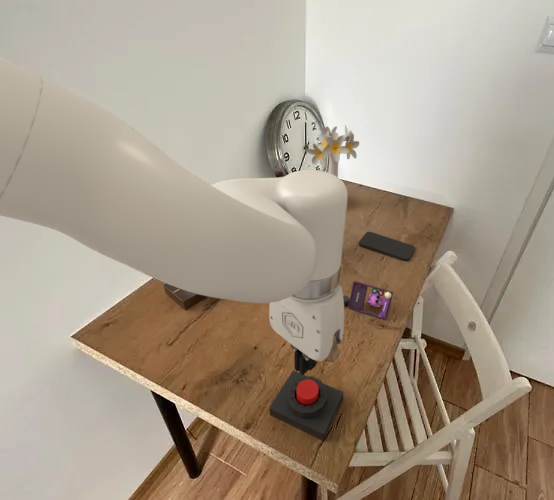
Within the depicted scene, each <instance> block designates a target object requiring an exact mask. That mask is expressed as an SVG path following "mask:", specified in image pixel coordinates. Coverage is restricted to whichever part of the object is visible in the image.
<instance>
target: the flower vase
mask: <svg viewBox="0 0 554 500" xmlns="http://www.w3.org/2000/svg"><path fill="white" fill-rule="evenodd" d="M337 129H338V127H337V126H334V127H333V128H332V129H330V127H329V126H325V127H324V129H323V133H324V134H322V133H319V134H318V136H317V137H316V140H317V141H319V142H320V143H318V144H316V143H313V144H312V148H310V147H309V148H305V151H306V153H308V154H309V155H311V156H312V159H311V164H312V165H317V164H318V163H319V162H320V165H321V166H322V167H323V168H326V167H327V166H326V161H325V159H326V158H327V157H328V169H327V170H328V171H327V173H330V174H333V175H335V176H336V177H338V178H339V162H340V159H341V154H343V155H346V159H347V160H350V159H351V156H352V157H353V159H354V160H355V159H357V158H358V157H357V156H358V155H357V152H356V150H355V149H357V148H358V147H359V146H360V141H358V140H355V134H354V133H353V131H352V130H349V131H348V127H347V125H346V124H345V125H344V134H342V135H339V132H336V131H337ZM344 142H345V144H344ZM343 144H344V145H343Z"/></svg>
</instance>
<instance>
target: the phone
mask: <svg viewBox="0 0 554 500" xmlns="http://www.w3.org/2000/svg"><path fill="white" fill-rule="evenodd" d="M358 245H359V246H360V247H363V248H366V249H369V250H371V251H375V252H378V253H381V254H384V255H386V256H390V257H393V258H395V259H399V260H402V261H405V262H408V261H409V260H411V258H412V256H413V254H414V252H415V250H416V246H414V245H413V244H410V243H407V242H405V241H400V240H398V239H395V238H391V237H388V236H385V235H382V234H378V233H376V232H372V231H366V232H365V233H364V235H363V236H362V237H361V238H360V240H359V241H358Z"/></svg>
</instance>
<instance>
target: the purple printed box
mask: <svg viewBox="0 0 554 500" xmlns="http://www.w3.org/2000/svg"><path fill="white" fill-rule="evenodd" d="M368 288H371V293H368ZM367 293H368V295H369V296H368V297H367V301H366V296H367ZM393 295H394V291H392V290H387V289H385V288H381V287H378V286H374V285H371V284H368V283H363V282H361V281H357V280H353V282H352V287H351V292H350V295H349V299H350V301H349V304H348V305H347V308H348V309H350V310H353V311H355V312H360V313H363V314H365V315H369V316H372V317H375V318H378V319H381V320H385V321H386V320H387V319H388V315H389V311H390V307H391V303H392V299H393ZM383 296H384V297H383ZM365 301H366V303H367V304H369V305H370V306H371V307H373V308H379V307H381V306H382V309H381V312H380V313H379V314H377V313H373V312H370V311H366V310H364V306H365Z"/></svg>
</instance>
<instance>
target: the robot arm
mask: <svg viewBox="0 0 554 500" xmlns="http://www.w3.org/2000/svg"><path fill="white" fill-rule="evenodd" d="M348 198H349V197H348V190H347V186H346V184H345V183H344V181H343V180H342V179H341V178H339V176H338V177H336V176H335V175H333V174H330V173H328V171H323V170H316V169H302V170H297V171H293V172H290V173H288V174H286V175H284V176H279V177H253V178H251V177H250V178H247V177H245V178H230V179H224V180H220V181H217V182H214V183H211V184H210V183H208V182H207V181H205V180H204V179H202V178H200V177H199V176H197V175H196V174H194V173H193V172H191V171H189V170H188V169H186V168H185V167H184V166H182V165H180V164H179V163H178V162H177V161H176V160H174V159H173V158H172V157H170V156H169V155H168V154H167V153H165V152H164V151H163V150H161V149H160V148H159V147H157V146H156V145H155V144H154V143H153V142H151V141H150V140H149V139H148V138H147V137H146V136H145V135H143V134H142V133H141V132H139V131H138V130H137V129H135V128H134V127H133V126H131V125H130V124H128V123H127V122H126V121H124V120H123V119H121V118H119V117H118V116H116V115H115V114H114V113H112V112H110V111H109V110H108V109H106V108H104V107H102V106H101V105H99V104H97V103H96V102H94V101H91V100H90V99H87V98H86V97H84V96H81V95H79V94H77V93H75V92H73V91H72V90H69V89H67V88H66V87H63V86H61V85H59V84H57V83H55V82H53V81H51V80H49V79H47V78H45V77H43V76H41V75H38V74H36V73H35V72H32V71H30V70H28V69H26V68H24V67H22V66H20V65H18V64H16V63H14V62H12V61H10V60H8V59H6V58H5V57H3V56H0V216H1V217H5V218H10V219H14V220H18V221H23V222H25V223H31V224H34V225H38V226H41V227H44V228H49V229H52V230H54V231H56V232H59V233H61V234H64V235H65V236H67V237H69V238H71V239H73V240H75V241H76V242H78V243H80V244H82V245H84V247H87V248H89V249H91V250H93V251H94V252H97V253H99V254H101V255H103V256H105V257H107V258H109V259H112V260H114V261H115V262H118V263H120V264H123V265H125V266H127V267H130V268H131V269H133V270H135V271H137V272H140V273H141V274H144V275H146V276H148V277H151V278H153V279H155V280H157V281H160V282H162V283H164V284H166V283H167V284H169V285H172V286H174V287H177V288H180V289H182V290H185V291H189V292H192V293H195V294H199V295H204V296H208V297H209V298H213V299H220V300H227V301H233V302H239V303H247V304H248V303H249V304H269V305H268V318H269V324H270V327H271V328H272V330H273V331H274V332H275V333H276V334H277V335H279V336H280V337H281V338H283V339H284V340H285V341H286V342H288V343H289V344H290V348H291V349H292V350H293V351H294V359H293V360H294V365H293V367H294V368H293V369H294V371H296V372H298V373H300V374H301V375H305V374H306V373H308V371H312V370H313V369H314V368H315V367H316V366H317V363H318V362H323V361H324V360H326V361H327V362H330V363H334V362H335V361H336V360H337V359H338V358H339V349H338V345H341V344H342V342H343V338H344V330H345V305H344V299H343V296H344V293H343V292H344V291H343V288H342V286H341V285H340V277H341V269H342V258H343V248H344V239H345V231H346V230H345V229H346V219H347V209H348ZM208 297H207V298H208Z"/></svg>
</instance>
